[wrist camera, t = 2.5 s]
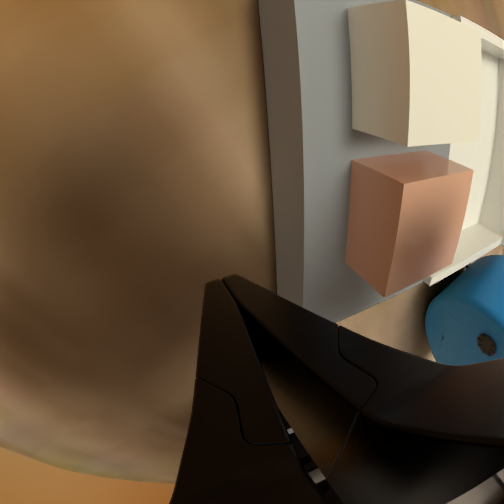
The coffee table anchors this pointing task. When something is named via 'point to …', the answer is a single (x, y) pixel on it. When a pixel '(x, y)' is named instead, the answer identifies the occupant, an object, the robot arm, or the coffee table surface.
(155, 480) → the coffee table surface
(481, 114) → the tray
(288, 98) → the slate plate
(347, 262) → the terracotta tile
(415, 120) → the cream block
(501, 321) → the alarm clock
